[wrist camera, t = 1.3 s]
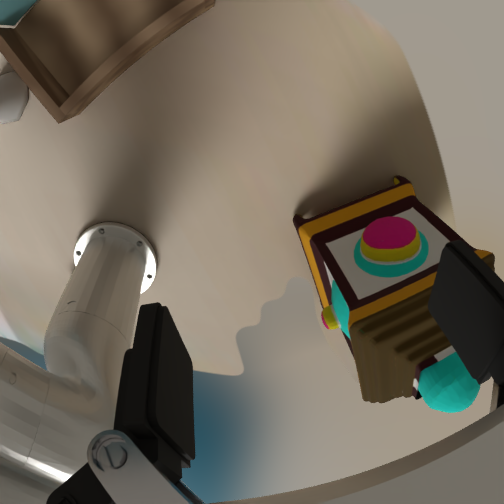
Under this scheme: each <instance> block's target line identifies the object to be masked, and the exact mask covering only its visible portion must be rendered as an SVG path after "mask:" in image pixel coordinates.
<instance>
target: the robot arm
mask: <svg viewBox="0 0 504 504" xmlns="http://www.w3.org/2000/svg"><path fill="white" fill-rule="evenodd" d="M140 241H141V242H140ZM74 263H75V266H76V267H75V269H74V271H73V273H72V275H71V277H70V279H69V281H68V283H67V285H66V288H65V290H64V292H63V294H62V296H61V298H60V300H59V303H58V305H57V307H56V309H55V312H54V314H53V316H52V318H51V321H50V323H49V325H48V328H47V330H46V334H45V338H44V357H45V363H46V367H47V371H46V370H44V369H42V368H41V367H39V366H37V365H35V364H34V363H32V362H31V361H29V360H27V359H26V358H24V357H23V356H21V355H19V354H18V353H16V352H15V351H13V350H12V349H10V348H8V347H7V346H5V345H4V344H2V343H1V342H0V504H206V503H204V502H203V501H202V500H201V499H200V498H199V497H198V496H197V495H196V494H195V493H194V492H193V491H191V490H190V489H189V488H188V487H187V486H186V485H185V484H184V483H183V482H182V481H181V480H180V479H181V478H182V468H188V467H189V468H190V460H194V459H195V439H194V411H193V366H192V361H191V358H190V356H189V354H188V352H187V349H186V347H185V345H184V343H183V341H182V339H181V337H180V334H179V332H178V330H177V328H176V326H175V323H174V321H173V319H172V317H171V314H170V312H169V310H168V308H167V306H161V304H160V303H158V302H157V303H151V304H145V305H141V307H140V310H139V315H138V321H137V326H136V332H135V337H134V343H133V348H132V349H130V346H131V340H132V335H133V329H134V324H135V318H136V313H137V308H138V303H139V298H140V294H141V293H143V292H144V291H146V290H147V289H148V288H149V287H150V285H151V284H152V283H153V281H154V278H155V276H156V271H157V259H156V255H155V252H154V250H153V248H152V246H151V244H150V243H149V241H148V240H147V239H146V238H145V237H144V236H143V235H142V234H140V233H139V232H138V231H137V230H135V229H133V228H131V227H129V226H127V225H124V224H121V223H114V222H104V223H99V224H96V225H93V226H91V227H89V228H88V229H87V230H86V231H84V232H83V234H82V235H81V236H80V237H79V239H78V241H77V243H76V245H75V248H74ZM428 309H429V312H430V314H431V315H432V316H433V318H434V319H435V321H436V322H437V324H438V325H439V327H440V328H441V330H442V331H443V333H444V334H445V336H446V337H447V339H448V340H449V342H450V343H451V345H452V346H453V348H454V349H455V351H456V353H457V354H458V356H459V357H460V359H461V361H462V362H463V364H464V365H465V367H466V369H467V370H468V372H469V374H470V375H471V377H472V378H473V379H476V381H477V382H478V384H479V385H480V384H482V383H484V382H485V381H487V380H489V379H490V377H491V376H492V378H493V379H494V384H493V392H492V400H491V407H490V413H489V414H488V415H486V416H485V417H483V418H481V419H479V420H478V421H476V422H474V423H473V424H471V425H469V426H467V427H465V428H464V429H462V430H460V431H458V432H456V433H454V434H453V435H451V436H449V437H447V438H445V439H443V440H441V441H439V442H437V443H435V444H432V445H430V446H428V447H426V448H424V449H422V450H420V451H417V452H415V453H413V454H410V455H408V456H405V457H403V458H401V459H398V460H396V461H393V462H390V463H388V464H385V465H382V466H380V467H377V468H374V469H371V470H368V471H365V472H362V473H360V474H356V475H353V476H350V477H346V478H343V479H340V480H336V481H332V482H329V483H325V484H321V485H317V486H313V487H309V488H305V489H300V490H296V491H290V492H285V493H280V494H275V495H270V496H264V497H257V498H250V499H243V500H235V501H226V502H219V503H210V504H504V282H503V281H502V280H501V279H500V278H499V277H498V276H497V274H496V273H495V272H494V271H493V270H492V269H491V268H490V267H489V266H488V265H487V264H486V263H485V262H484V261H483V260H482V259H481V258H480V257H479V256H478V255H477V254H476V253H475V252H474V251H473V250H472V249H471V248H470V247H469V246H468V245H467V244H466V243H465V242H463V241H462V240H456V241H452V242H448V243H446V245H445V247H444V248H443V249H442V253H441V257H440V261H439V265H438V269H437V273H436V277H435V280H434V284H433V288H432V291H431V295H430V298H429V301H428Z"/></svg>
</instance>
